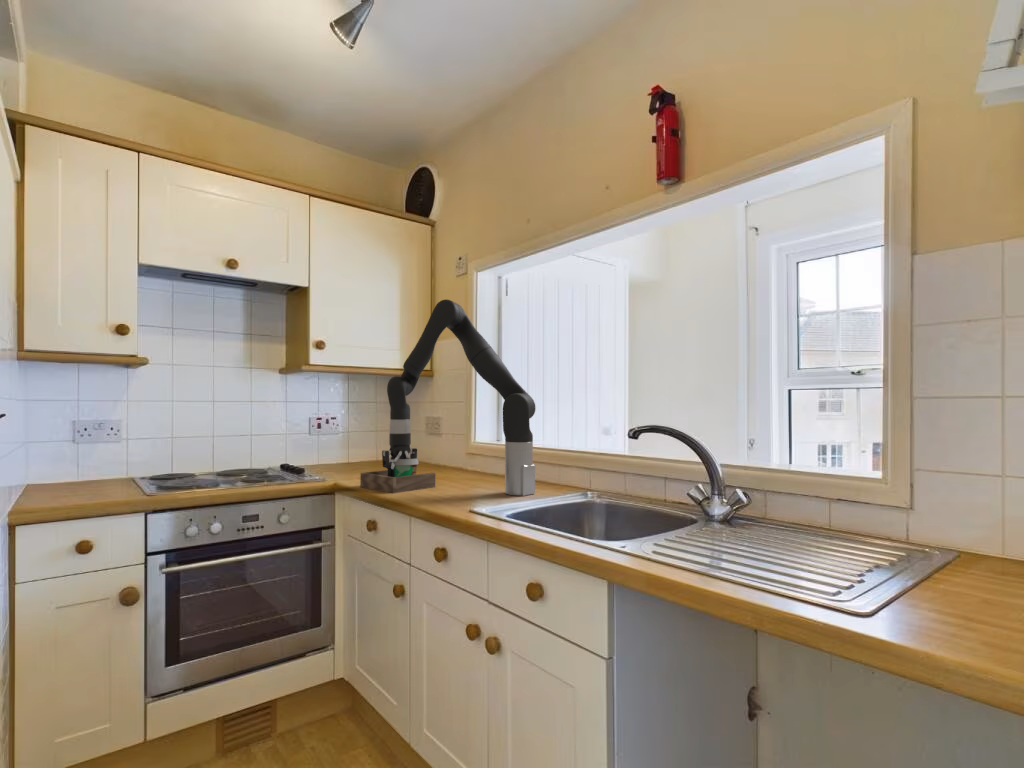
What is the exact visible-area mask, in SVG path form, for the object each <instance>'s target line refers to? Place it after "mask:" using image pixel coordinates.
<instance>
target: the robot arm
mask: <svg viewBox="0 0 1024 768" xmlns="http://www.w3.org/2000/svg"><path fill="white" fill-rule="evenodd" d="M445 329H448V330H450V332H451V333H452V334H453V335H454V336H455V337H456V338H457V339H458V341H459V342H460V344H461V345H462V349H463V352H464V354H465V356H466V358H467V360H468V362H469V363H470V365H471V366H472V368H473V369H474V371H476V373H477V374H478V375H479V376H480V377H481V378H482V380H484V381H485V382H486V383H487V384H488V385H490V386H491V387H493V389H495V391H496V392H498V394H500V395H501V397H502V398H503V404H502V430H503V434H504V440H505V441H504V494H506V495H508V496H509V495H510V496H524V497H525V496H529V495H530V496H531V495H533V494H536V465H535V464H534V463H533V461H534V460H533V459H534V458H533V457H534V455H533V453H534V452H533V449H534V448H533V447H534V445H533V444H534V442H533V441H534V440H533V439H534V435H533V432H532V431H531V428H530V427H531V426H530V419H532V418H533V417H534V415H535V412H536V410H537V409H536V408H537V407H536V403H535V400H534V399H533V397H532V396H531V395H530V394H529V393H528V392H527V391H526V390H525V389H524V388H523V387H522V385H520V384H519V383H518V381H517V380H516V379H515V378H514V376H513V375H512V374H511V372H510V371H509V369H508V367H507V366H506V365H505V363H504V362H503V361H502V359H501V358H500V357H499V355H498V354H497V352H496V351H495V350H494V348H493V347H492V346H491V345H490V344H489V343H488V341H487V340H486V339H485V337H483V335H481V333H480V332H479V331H478V330H477V329H476V328H475V326H474V325H473V322H472V321H471V319H470V318H469V316H468V314H467V312H466V311H465V310H464V308H463V307H462V305H460V304H459V303H457V302H455V301H453V300H451V299H442V300H440V301H438V302H437V303H436V304H435V306H434V308H433V310H432V312H431V314H430V317H429V318H428V320H427V323H426V325H425V327H424V329H423V331H422V333H421V335H420V337H419V339H418V341H417V342H416V344H415V346H414V347H413V349H412V351H410V354H409V355H408V357H406V360H405V361H404V363H403V365H402V368H403V372H402V373H401V376H400V375H399V376H396V375H395V376H392V377H391V378H390V379H389V380H388V382H387V386H386V393H387V398H388V399H387V400H388V403H389V404H388V405H389V407H390V410H389V412H390V415H389V416H390V417H389V418H390V421H389V429H388V430H389V433H388V434H389V437H388V439H389V444H388V445H389V449H388V450H384V449H383V450H382V451H381V455H382V457H381V459H382V461H381V462H382V467H383V468H385V469H386V470H388V476H389V477H394V469H393V468H394V466H395V463H396V462H397V460H398V459H417V458H418V449H417V447H411V444H412V437H411V435H412V426H411V425H412V423H411V407H410V404H409V403H407V396H409V395H410V394H411V393H412V392H413V391H414V389H415V388H416V385H417V384H418V381H419V379H420V376H421V374H422V373H423V372H424V370H425V368H426V367H427V365H428V364H429V362H430V361H431V359H432V356H433V353H434V350H435V347H436V345H437V342H438V340H439V337H440V336H441V334H442V333H443V332H444V330H445ZM389 457H390V459H389ZM391 459H394V460H391ZM391 462H392V464H391V465H390V463H391Z"/></svg>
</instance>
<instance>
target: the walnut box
mask: <svg viewBox="0 0 1024 768" xmlns="http://www.w3.org/2000/svg"><path fill="white" fill-rule="evenodd" d="M359 483H360V488H364V489H368V488H369V489H370V490H374V489H375V490H374V491H379V490H380V492H384V491H385V492H386V493H391V494H396V493H404V492H409V491H417V490H424V489H429V488H436V472H427V473H426V472H425V473H418V474H417V473H416V475H409V476H401V477H389V476H388V469H383V470H382V469H381V470H376V471H366V472H364V471H363V472H360V482H359ZM369 489H368V490H369ZM385 492H384V493H385Z"/></svg>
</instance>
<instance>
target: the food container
mask: <svg viewBox="0 0 1024 768" xmlns="http://www.w3.org/2000/svg"><path fill="white" fill-rule="evenodd" d="M390 457H391V456H389V459H390ZM391 460H394V459H391ZM419 463H420V462H419V458H418V457H417V459H398V460H397V462H396V463H395V466H394V468H393V469H394V477H401V476H409V475H417V467H418V465H419ZM391 464H392V462H391V463H390V465H391Z"/></svg>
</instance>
